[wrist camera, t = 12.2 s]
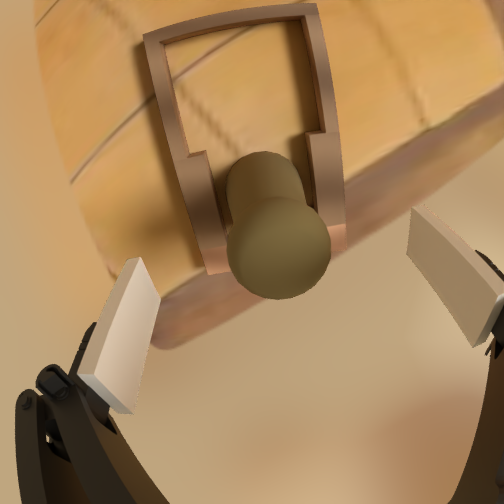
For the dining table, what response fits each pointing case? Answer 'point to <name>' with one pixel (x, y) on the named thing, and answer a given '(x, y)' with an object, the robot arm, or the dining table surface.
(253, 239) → the olive rounded upright piece
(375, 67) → the dining table surface
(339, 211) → the keyhole board
